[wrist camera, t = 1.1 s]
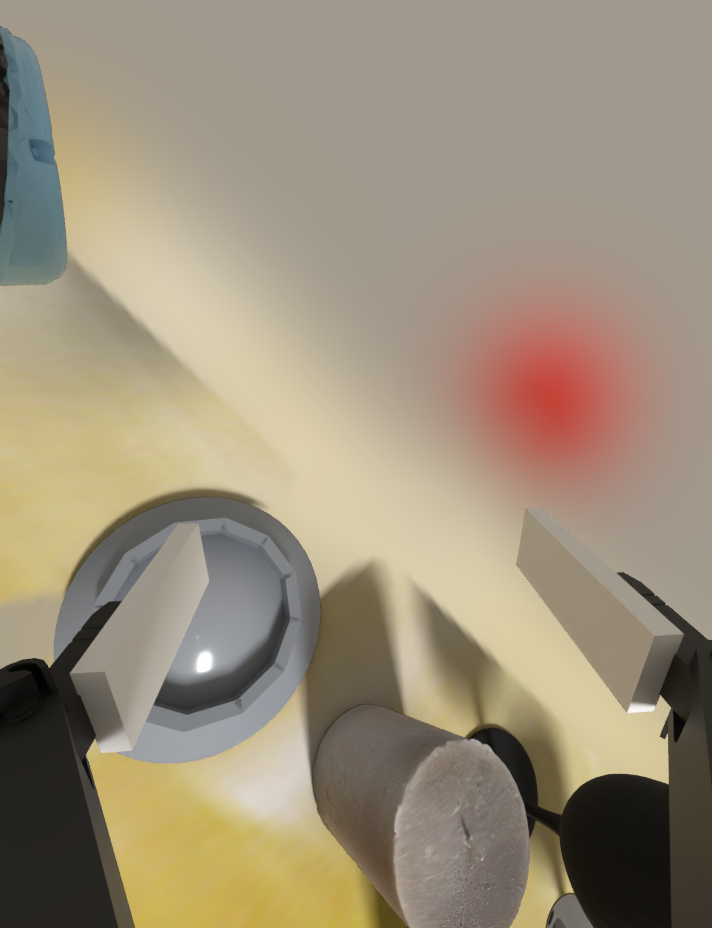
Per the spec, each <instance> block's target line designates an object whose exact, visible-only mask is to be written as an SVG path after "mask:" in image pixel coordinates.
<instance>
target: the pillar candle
mask: <svg viewBox="0 0 712 928" xmlns="http://www.w3.org/2000/svg"><path fill="white" fill-rule="evenodd" d="M313 787H314V795H315V800H316V803H317V810H318V813H319V815H320V817H321V819H322V821H323V823H324V825H325V826H326V828H327V829H328V830H329V831H330V832H331V834H332V835H333V836H334V837H335V838H336V840H337V841H338V842H339V844H340V845H341V846H342V847H343V848H344V850H345V851H346V852H347V854H348V855H349V856H350V857H351V858H352V860H353V861H354V862H355V863H356V864H357V865H358V867H359V868H360V870H361V871H362V872H363V874H364V875H365V876H366V877H367V878H368V879H369V880H370V882H371V883H372V884H373V886H374V887H375V889H376V890H377V891H378V892H379V893H380V894H381V895H382V897H383V898H384V899H385V901H386V902H387V903H388V904H389V905H390V907H391V908H392V909H393V910H394V911H395V913H396V914H397V915H398V916H399V917H400V919H401V920H402V921H403V922H404V923H405V925H406V926H407V927H408V928H509V927H510V925H511V924H512V922H513V920H514V919H515V918H516V915H517V913H518V911H519V907H520V904H521V900H522V898H523V895H524V892H525V889H526V884H527V877H528V870H529V862H530V843H529V842H530V841H529V830H528V822H527V817H526V811H525V807H524V803H523V800H522V797H521V795H520V792H519V790H518V787H517V784H516V783H515V781H514V779H513V777H512V775H511V773H510V771H509V770H508V768H507V767H506V765H505V764H504V763H503V762H502V761H501V759H500V758H499V757H498V756H497V755H496V754H495V753H494V752H493V750H492V749H491V747H489V746H488V745H487V744H482V743H481V742H480V741H478V740H475V739H466V738H464V737H461V736H459V735H456V734H453V733H451V732H448V731H446V730H443V729H440V728H437V727H435V726H432V725H430V724H427V723H424V722H422V721H419V720H416V719H414V718H411V717H408V716H406V715H404V714H401V713H398V712H395V711H393V710H389V709H387V708H384V707H382V706H377V705H372V704H365V705H359V706H356V707H354V708H351V709H350V710H349V711H347V712H346V713H344V714H343V715H341V716H340V717H339V718H338V719H337V720H336V721H335V722H334V723H333V724H332V725H331V726H330V728H329V729H328V730H327V732H326V734H325V735H324V737H323V739H322V741H321V743H320V745H319V748H318V752H317V756H316V759H315V763H314V771H313Z"/></svg>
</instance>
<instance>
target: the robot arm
mask: <svg viewBox="0 0 712 928" xmlns="http://www.w3.org/2000/svg"><path fill="white" fill-rule="evenodd" d="M54 155H55V151H54V145H53V139H52V127H51V121H50V116H49V110H48V105H47V99H46V93H45V89H44V84H43V80H42V75H41V71H40V67H39V64H38V60H37V57H36V55H35V53H34V51H33V50H32V48H31V47H30V46H29V45H28V44H27V43H26V42H25V41H24V40H22V39H20V38H18V37H16V36H13V35H12V34H11V32H10V31H9V30H8V29H6V28H3V27H2V26H0V286H12V285H43V284H47V283H50V282H52V281H54V280H55V279H58V278H59V277H60V276H61V275H62V274H63V272H64V271H65V268H66V264H67V242H66V230H65V221H64V211H63V203H62V195H61V187H60V181H59V174H58V169H57V164H56V162H55V160H54ZM516 565H517V566H518V568H519V569H520V570H521V572H522V573H523V574H524V576H525V577H526V578H527V580H528V581H529V582H530V584H531V585H532V586H533V588H534V589H535V590H536V592H537V593H538V594H539V596H540V597H541V598H542V600H543V601H544V602H545V604H546V605H547V607H548V608H549V609H550V611H551V612H552V613H553V615H554V616H555V617H556V619H557V620H558V621H559V623H560V624H561V625H562V627H563V628H564V629H565V631H566V632H567V633H568V635H569V636H570V637H571V639H572V640H573V641H574V642H575V644H576V645H577V646H578V648H579V649H580V651H581V652H582V653H583V655H584V656H585V657H586V659H587V660H588V661H589V663H590V664H591V666H592V667H593V668H594V670H595V671H596V672H597V674H598V675H599V676H600V678H601V679H602V680H603V682H604V683H605V684H606V686H607V687H608V688H609V689H610V691H611V692H612V694H613V695H614V696H615V698H616V699H617V700H618V702H619V703H620V704H621V706H622V707H623V708H624V710H625V711H626V712H627V713H636V712H649V711H654V709H655V707H656V704H657V701H658V699H659V697H660V695H661V696H662V697H663V698H664V700H665V701H666V702H667V703H668V704H669V705H670V707H671V710H670V712H669V715H668V717H667V720H666V722H665V725H664V727H663V729H662V732H661V735H660V737H662V738H664V739H665V738H666V735H667V733H668V754H669V812H670V868H671V924H672V928H712V640H708V639H706V638H705V637H704V636H703V635H702V634H701V633H699V632H698V631H697V630H696V629H695V628H694V627H693V626H691V625H690V624H689V623H688V622H687V621H686V620H684V619H683V618H682V617H681V616H680V615H679V614H677V613H676V612H675V611H674V610H673V609H672V608H670V607H669V606H666V605H665V602H663V601H662V600H661V599H660V598H659V597H658V596H655V595H654V593H653V592H652V591H651V590H649V589H648V588H647V587H646V586H645V585H644V584H642V583H641V582H640V581H638V580H636V579H634V578H632V577H631V576H629V575H627V574H625V573H624V572H622V573H621V572H620V573H616V572H615V571H614V570H612V569H611V568H610V567H609V566H608V565H607V564H606V563H605V562H604V561H602V560H601V559H600V558H599V557H598V556H597V555H596V554H595V553H594V552H592V551H591V550H590V549H589V548H588V547H587V546H586V545H585V544H584V543H582V542H581V541H580V540H579V539H578V538H577V537H576V536H575V535H574V534H572V533H571V532H570V531H569V530H568V529H567V528H566V527H565V526H564V525H562V524H561V523H560V522H559V521H558V520H557V519H556V518H554V516H553V515H551V514H550V513H549V512H548V511H547V510H546V509H545V508H527V509H526V510H525V516H524V522H523V528H522V534H521V540H520V546H519V552H518V557H517V563H516ZM208 583H209V577H208V572H207V566H206V561H205V556H204V551H203V545H202V540H201V535H200V530H199V525H198V523H190V524H178V525H177V526H176V528H175V529H174V530H173V532H172V533H171V535H170V536H169V537H168V539H167V540H166V541H165V543H164V544H163V546H162V547H161V548H160V550H159V551H158V553H157V554H156V555H155V557H154V558H153V559H152V561H151V562H150V564H149V565H148V566H147V568H146V569H145V570H144V572H143V573H142V575H141V576H140V577H139V579H138V580H137V581H136V583H135V584H134V586H133V587H132V588H131V590H130V591H129V592H128V594H127V595H126V597H125V598H124V599H123V601H110V602H108V603H106V604H105V605H104V606H102V607H101V608H100V609H98V610H97V611H96V612H94V613H93V614H92V615H91V616H90V618H89V619H88V620H87V621H86V623H85V624H84V625H83V626H82V628H81V631H78V633H77V634H76V635H75V637H74V638H73V639H72V642H71V643H69V644H68V645H67V647H66V648H65V649H64V650H63V652H62V653H61V654H60V655H59V657H58V658H57V659H56V660H55V662H54V663H53V664H52V665H51V667H50V668H49V667H48V665H47V664H46V663H45V661H44V660H41V659H36V658H32V659H25V660H21V661H18V662H15V663H12V664H10V665H7V666H6V667H4V668H2V669H0V928H135V926H134V922H133V919H132V915H131V911H130V908H129V904H128V901H127V897H126V894H125V890H124V886H123V883H122V879H121V876H120V872H119V869H118V865H117V861H116V858H115V854H114V851H113V847H112V844H111V840H110V836H109V833H108V829H107V826H106V822H105V819H104V815H103V811H102V808H101V804H100V801H99V797H98V794H97V790H96V786H95V783H94V779H93V776H92V772H91V769H90V765H89V762H88V759H87V757H86V753H87V752H88V750H89V748H90V746H91V744H92V743H93V741H94V739H96V741H97V744H98V746H99V749H100V751H101V753H107V752H120V751H132V750H133V748H134V746H135V744H136V741H137V739H138V737H139V735H140V733H141V730H142V728H143V726H144V724H145V722H146V719H147V717H148V715H149V713H150V711H151V708H152V706H153V704H154V702H155V699H156V697H157V695H158V693H159V691H160V688H161V686H162V684H163V682H164V680H165V677H166V675H167V673H168V671H169V669H170V666H171V664H172V662H173V660H174V658H175V655H176V653H177V651H178V649H179V647H180V644H181V642H182V640H183V638H184V636H185V633H186V631H187V629H188V627H189V625H190V622H191V620H192V618H193V616H194V613H195V611H196V609H197V607H198V605H199V602H200V600H201V598H202V596H203V594H204V591H205V589H206V587H207V585H208Z"/></svg>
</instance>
